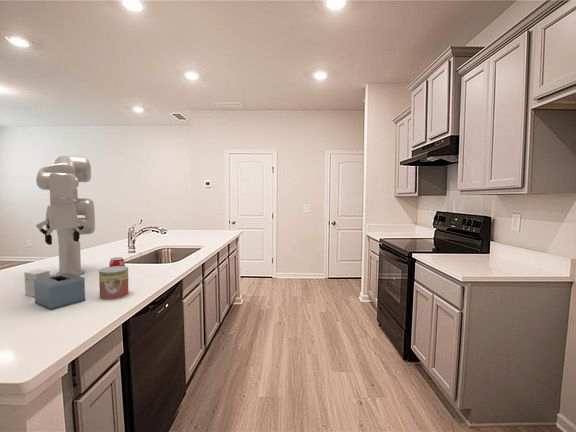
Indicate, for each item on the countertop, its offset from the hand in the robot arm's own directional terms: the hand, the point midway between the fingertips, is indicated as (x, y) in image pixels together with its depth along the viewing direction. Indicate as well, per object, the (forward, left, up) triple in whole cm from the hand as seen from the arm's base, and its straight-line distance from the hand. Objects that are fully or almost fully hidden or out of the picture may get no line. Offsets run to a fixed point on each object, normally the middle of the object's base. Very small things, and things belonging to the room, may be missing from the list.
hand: (63, 242), depth 121 cm
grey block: (+2, -2, -25) cm, 25 cm away
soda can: (-7, +27, -25) cm, 37 cm away
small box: (-16, -3, -25) cm, 30 cm away
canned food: (+12, +14, -25) cm, 31 cm away
